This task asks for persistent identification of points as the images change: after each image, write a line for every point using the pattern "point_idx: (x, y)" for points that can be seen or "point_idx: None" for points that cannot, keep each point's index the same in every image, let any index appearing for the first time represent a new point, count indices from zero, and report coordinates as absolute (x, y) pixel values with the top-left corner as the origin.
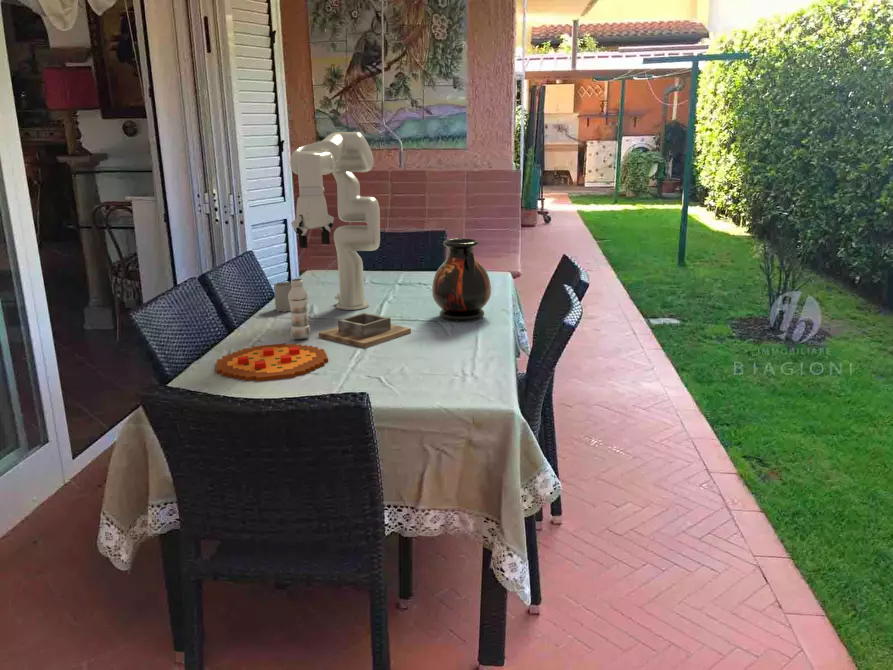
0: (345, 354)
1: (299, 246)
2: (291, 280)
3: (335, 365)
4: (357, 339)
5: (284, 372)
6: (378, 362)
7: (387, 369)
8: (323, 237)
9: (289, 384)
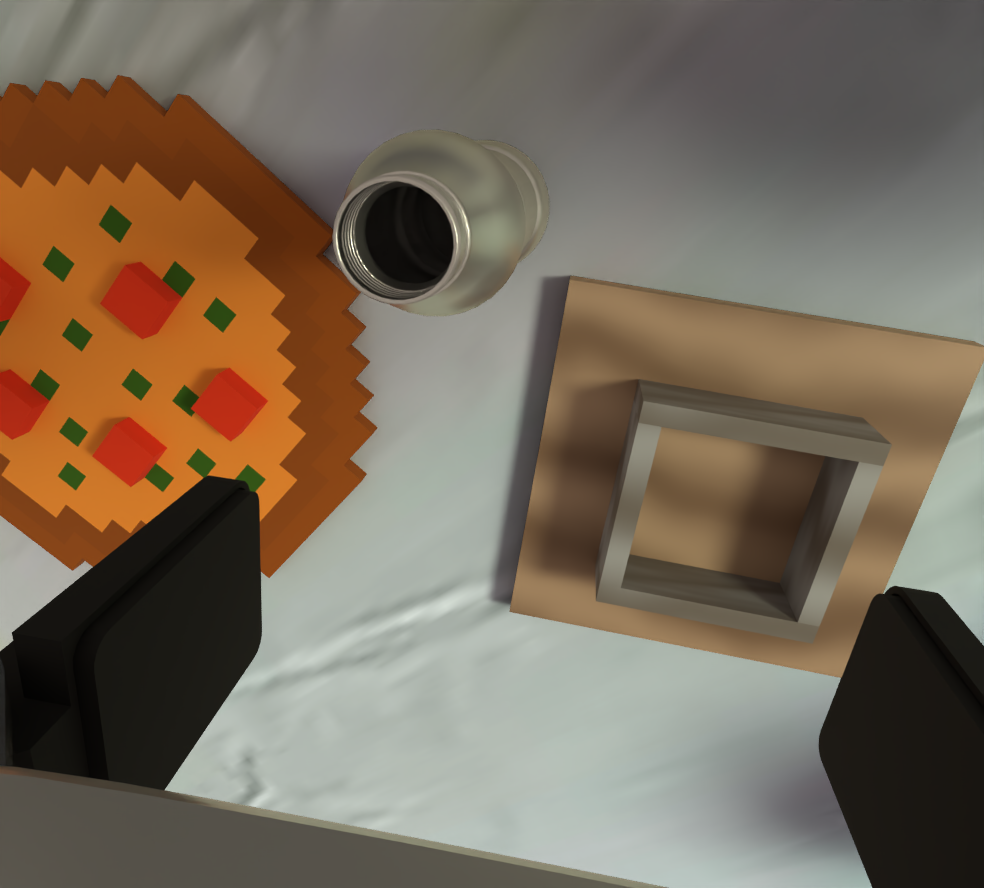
0: (393, 573)
1: (207, 476)
2: (343, 205)
3: (264, 613)
4: (550, 550)
5: (51, 530)
6: (381, 726)
7: (337, 780)
8: (918, 750)
9: (26, 587)
